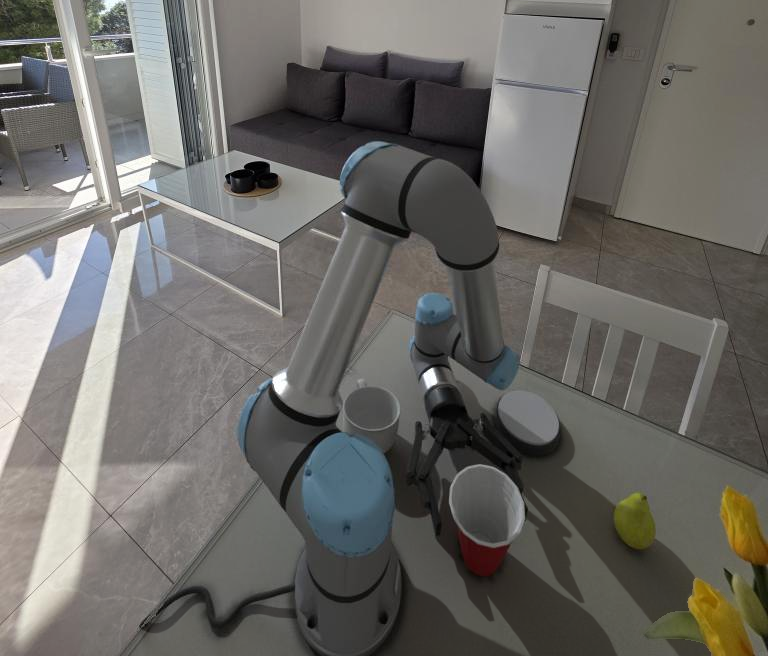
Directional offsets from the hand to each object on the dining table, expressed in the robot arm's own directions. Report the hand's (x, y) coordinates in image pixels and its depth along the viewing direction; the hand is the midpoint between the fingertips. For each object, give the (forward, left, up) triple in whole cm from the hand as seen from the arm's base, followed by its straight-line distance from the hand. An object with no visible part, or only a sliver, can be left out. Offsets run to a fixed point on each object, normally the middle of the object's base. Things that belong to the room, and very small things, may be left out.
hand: (482, 522), depth 64 cm
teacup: (-17, +19, -6) cm, 26 cm away
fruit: (+25, +1, -7) cm, 26 cm away
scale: (+15, +20, -6) cm, 26 cm away
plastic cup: (0, 0, -7) cm, 7 cm away
